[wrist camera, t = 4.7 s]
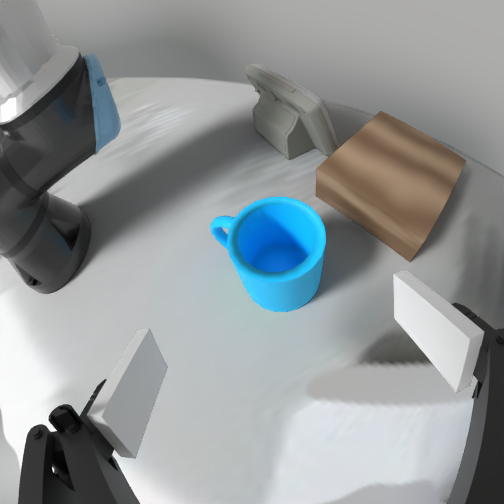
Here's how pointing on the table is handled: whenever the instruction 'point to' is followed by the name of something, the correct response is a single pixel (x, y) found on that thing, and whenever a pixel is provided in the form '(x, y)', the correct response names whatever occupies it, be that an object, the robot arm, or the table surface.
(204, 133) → the table surface
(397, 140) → the riser block
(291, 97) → the digital clock
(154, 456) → the table surface
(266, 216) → the mug
